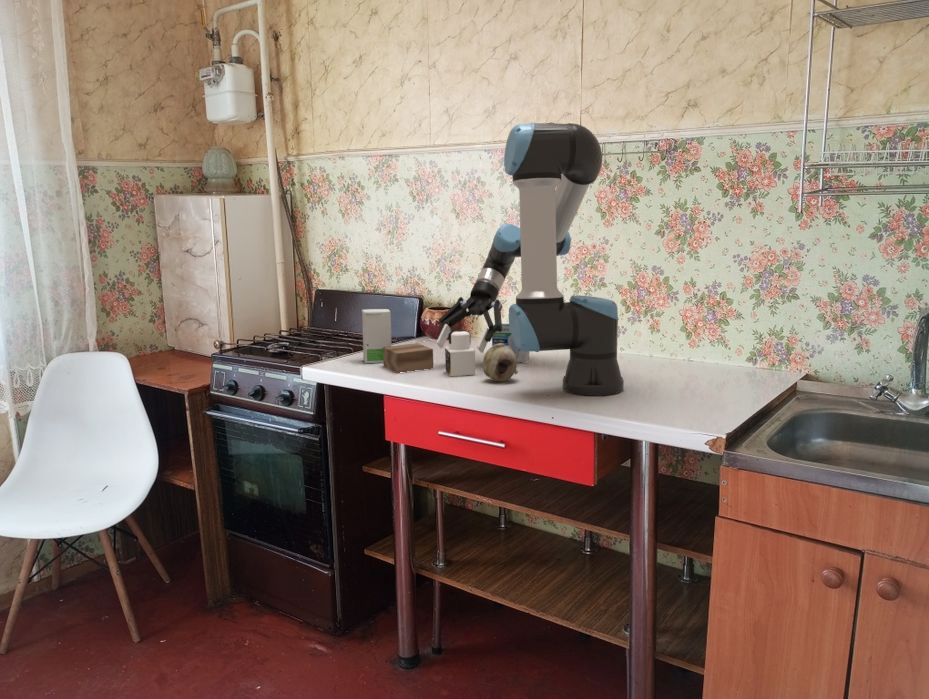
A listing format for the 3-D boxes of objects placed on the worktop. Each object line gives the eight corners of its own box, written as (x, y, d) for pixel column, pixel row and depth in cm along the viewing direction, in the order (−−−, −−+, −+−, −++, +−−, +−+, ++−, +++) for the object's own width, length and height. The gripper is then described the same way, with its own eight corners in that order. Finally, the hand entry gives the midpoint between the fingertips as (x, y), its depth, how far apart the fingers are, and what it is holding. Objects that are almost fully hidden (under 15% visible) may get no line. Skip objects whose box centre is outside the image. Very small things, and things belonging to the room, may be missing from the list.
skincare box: (365, 364, 223) (362, 312, 220) (363, 359, 229) (360, 309, 226) (393, 362, 225) (391, 310, 222) (390, 357, 231) (388, 307, 228)
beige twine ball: (476, 380, 200) (476, 344, 198) (498, 375, 206) (497, 339, 204) (503, 386, 193) (502, 348, 191) (524, 380, 199) (524, 343, 197)
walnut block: (433, 369, 215) (432, 349, 214) (397, 374, 210) (397, 353, 209) (418, 362, 225) (417, 343, 223) (383, 367, 220) (382, 347, 218)
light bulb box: (491, 362, 222) (491, 326, 219) (494, 358, 228) (494, 323, 226) (527, 363, 220) (527, 327, 218) (529, 358, 226) (529, 323, 224)
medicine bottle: (445, 371, 211) (444, 329, 209) (470, 369, 213) (469, 328, 210) (450, 377, 205) (449, 333, 202) (475, 375, 206) (474, 332, 204)
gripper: (529, 298, 213) (502, 359, 204) (456, 293, 227) (429, 350, 218) (519, 281, 208) (492, 343, 199) (446, 277, 221) (417, 335, 212)
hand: (459, 347), depth 208 cm, fingers open, 13 cm apart
